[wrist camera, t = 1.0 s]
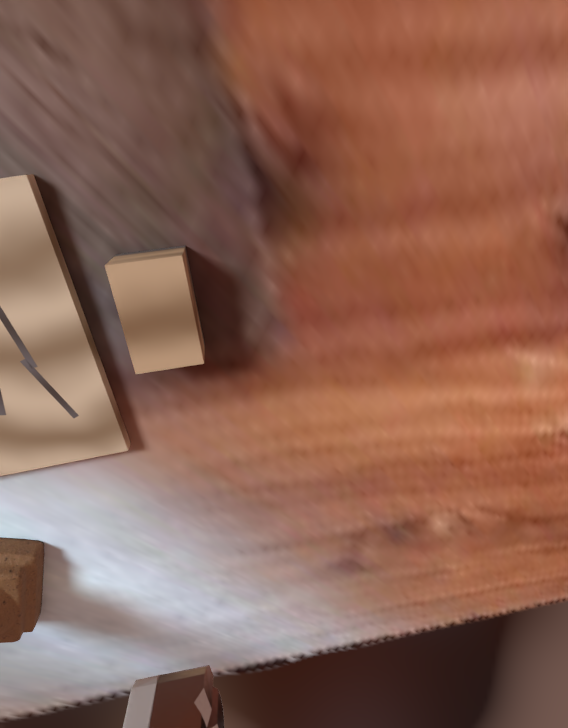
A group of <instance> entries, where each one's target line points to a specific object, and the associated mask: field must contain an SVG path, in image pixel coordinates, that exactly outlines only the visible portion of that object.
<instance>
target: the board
mask: <svg viewBox="0 0 568 728" xmlns="http://www.w3.org/2000/svg"><path fill="white" fill-rule="evenodd" d="M130 443H131V442H130V439H129V437H128V434H127V431H126V428H125V425H124V423H123V420H122V417H121V414H120V412H119V409H118V406H117V403H116V401H115V398H114V395H113V392H112V390H111V387H110V384H109V381H108V379H107V376H106V373H105V370H104V368H103V365H102V362H101V359H100V357H99V354H98V351H97V348H96V346H95V343H94V340H93V337H92V335H91V332H90V329H89V326H88V324H87V321H86V318H85V315H84V312H83V310H82V307H81V304H80V301H79V299H78V296H77V293H76V290H75V288H74V285H73V282H72V279H71V277H70V274H69V271H68V268H67V266H66V263H65V260H64V257H63V255H62V252H61V249H60V246H59V244H58V241H57V238H56V235H55V233H54V230H53V227H52V224H51V222H50V219H49V216H48V213H47V211H46V208H45V205H44V202H43V199H42V197H41V194H40V191H39V188H38V186H37V183H36V180H35V177H34V175H33V174H31V175H22V176H15V177H8V178H2V179H0V476H3V475H9V474H14V473H19V472H24V471H29V470H34V469H39V468H44V467H49V466H54V465H59V464H64V463H69V462H74V461H79V460H84V459H89V458H94V457H99V456H104V455H109V454H114V453H119V452H124V451H128V450H129V447H130Z"/></svg>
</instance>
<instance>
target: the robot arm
mask: <svg viewBox="0 0 568 728" xmlns="http://www.w3.org/2000/svg"><path fill="white" fill-rule="evenodd" d="M123 728H224V715H223V706H222V701H221V696H220V693H219V690H218V689H217V688H215V687H213V673H212V671H211V668H210V666H209V665H208V666H203V667H198V668H193V669H188V670H183V671H178V672H173V673H169V674H164V675H157V676H153V677H149V678H144V679H140V680H136V681H135V683H134V686H133V688H132V690H131V693H130V698H129V702H128V706H127V711H126V716H125V720H124V725H123Z"/></svg>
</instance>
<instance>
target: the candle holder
mask: <svg viewBox="0 0 568 728" xmlns="http://www.w3.org/2000/svg"><path fill="white" fill-rule="evenodd" d="M43 566H44V544H43V542H40V541H35V540H26V539H12V538H0V643H4V642H15V641H18V640H20V638H21V635H22V633H23V632H32V631H33V629H34V627H35V625H36V623H37V620H38V618H39V615H40V611H41V604H42V585H43Z"/></svg>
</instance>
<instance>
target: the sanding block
mask: <svg viewBox="0 0 568 728" xmlns="http://www.w3.org/2000/svg"><path fill="white" fill-rule="evenodd" d="M105 268H106V272H107V275H108V279H109V282H110V286H111V289H112V293H113V296H114V300H115V303H116V307H117V310H118V314H119V317H120V321H121V324H122V328H123V331H124V335H125V338H126V342H127V345H128V349H129V352H130V356H131V359H132V363H133V366H134V370H135V373H136V374H141V373H147V372H153V371H160V370H166V369H173V368H179V367H186V366H192V365H199V364H204V355H205V342H204V337H203V332H202V327H201V322H200V317H199V312H198V307H197V301H196V296H195V291H194V286H193V281H192V276H191V271H190V266H189V261H188V256H187V251H186V246H178V247H170V248H162V249H155V250H147V251H139V252H131V253H124V254H117V255H115V256H114V257H113V258H112V259H111V260H110V261H109V262H108V263H107V264H106V265H105Z"/></svg>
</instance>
